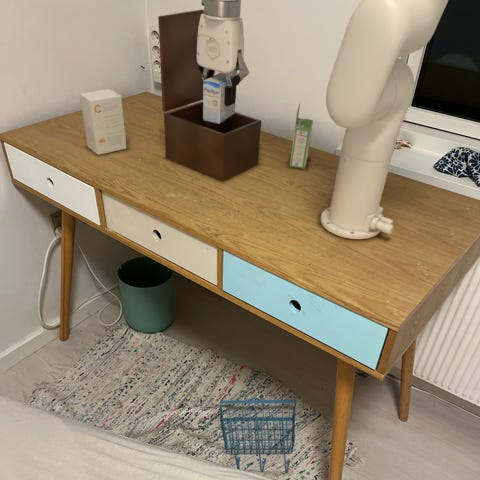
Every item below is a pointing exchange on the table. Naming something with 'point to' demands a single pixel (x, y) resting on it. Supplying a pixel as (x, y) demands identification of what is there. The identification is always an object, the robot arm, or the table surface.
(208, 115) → the medicine box
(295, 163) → the ink box
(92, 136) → the small box
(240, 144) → the chest
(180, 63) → the chest lid
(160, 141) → the table surface
